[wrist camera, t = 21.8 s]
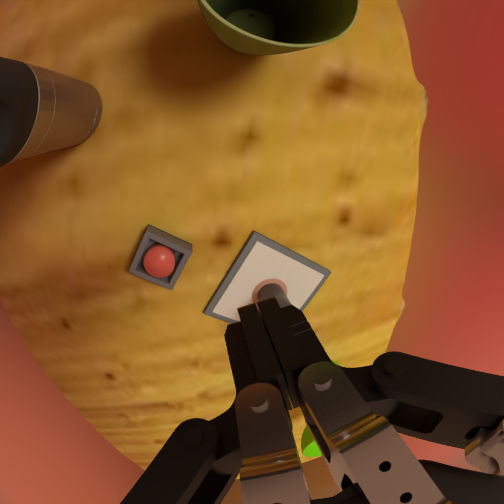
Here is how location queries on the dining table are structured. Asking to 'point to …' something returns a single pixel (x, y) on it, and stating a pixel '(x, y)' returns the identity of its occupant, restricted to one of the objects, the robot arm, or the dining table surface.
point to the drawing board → (265, 277)
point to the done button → (159, 260)
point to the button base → (178, 245)
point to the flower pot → (278, 23)
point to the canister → (274, 294)
